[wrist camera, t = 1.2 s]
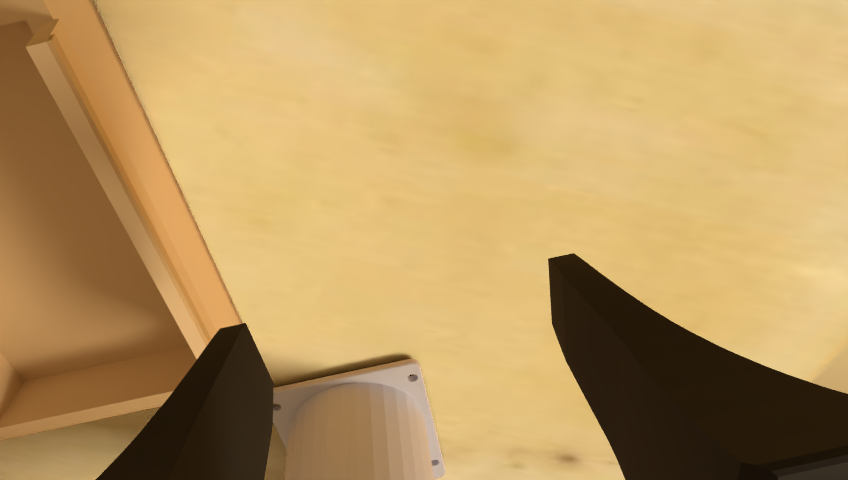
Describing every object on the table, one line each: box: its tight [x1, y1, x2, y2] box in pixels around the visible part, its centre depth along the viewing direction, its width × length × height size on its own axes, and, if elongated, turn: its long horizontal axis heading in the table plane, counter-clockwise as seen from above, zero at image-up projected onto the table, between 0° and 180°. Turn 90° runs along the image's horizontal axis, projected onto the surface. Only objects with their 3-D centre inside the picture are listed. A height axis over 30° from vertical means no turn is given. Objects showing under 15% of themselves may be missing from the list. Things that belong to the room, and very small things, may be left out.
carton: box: [0, 0, 243, 441], centre depth 21 cm, size 16×11×3 cm
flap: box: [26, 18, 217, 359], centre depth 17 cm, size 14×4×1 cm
